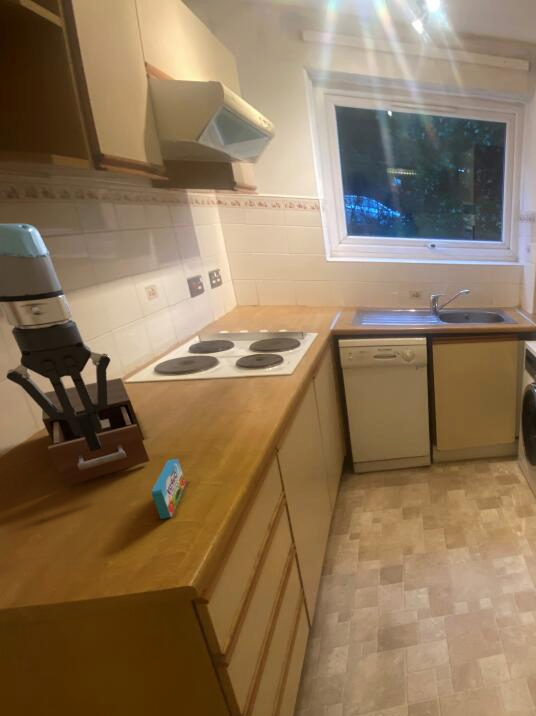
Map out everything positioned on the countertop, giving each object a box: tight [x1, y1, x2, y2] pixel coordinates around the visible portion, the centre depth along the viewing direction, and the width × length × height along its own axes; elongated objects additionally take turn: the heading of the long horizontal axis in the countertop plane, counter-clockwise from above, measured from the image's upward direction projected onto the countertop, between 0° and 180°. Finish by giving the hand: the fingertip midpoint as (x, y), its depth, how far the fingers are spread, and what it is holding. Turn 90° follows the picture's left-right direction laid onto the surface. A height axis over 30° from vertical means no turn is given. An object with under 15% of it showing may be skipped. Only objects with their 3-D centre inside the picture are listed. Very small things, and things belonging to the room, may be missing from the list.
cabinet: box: [41, 377, 145, 445], centre depth 106 cm, size 20×15×11 cm
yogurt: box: [151, 458, 187, 520], centre depth 84 cm, size 12×2×6 cm, turn 24°
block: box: [80, 419, 112, 438], centre depth 95 cm, size 5×5×7 cm
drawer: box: [47, 405, 151, 487], centre depth 94 cm, size 24×14×9 cm, turn 45°
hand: (95, 447), depth 80 cm, fingers closed
